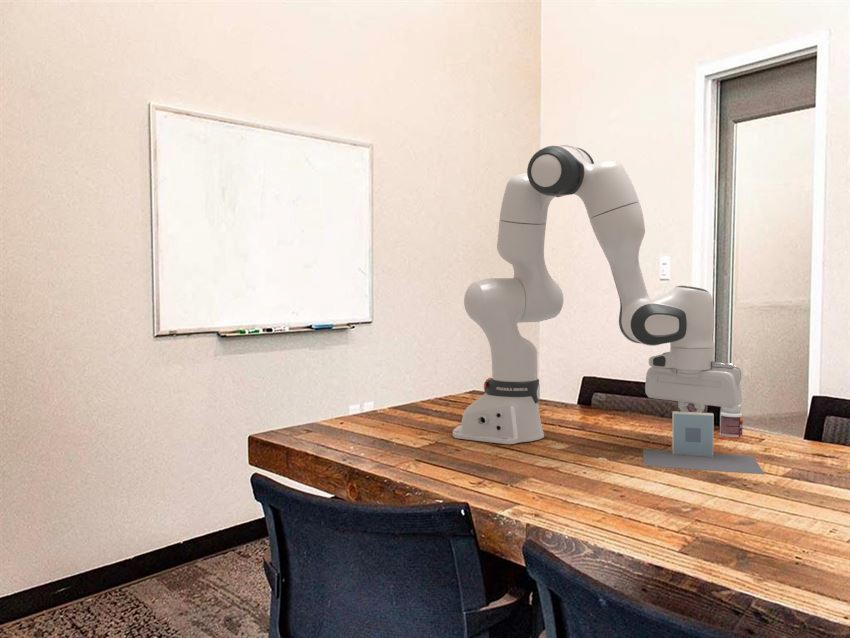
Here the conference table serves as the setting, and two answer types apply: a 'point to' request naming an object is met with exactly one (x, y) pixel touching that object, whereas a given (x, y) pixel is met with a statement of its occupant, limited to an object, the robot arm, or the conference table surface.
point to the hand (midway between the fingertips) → (691, 422)
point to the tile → (692, 433)
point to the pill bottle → (731, 423)
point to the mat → (702, 461)
